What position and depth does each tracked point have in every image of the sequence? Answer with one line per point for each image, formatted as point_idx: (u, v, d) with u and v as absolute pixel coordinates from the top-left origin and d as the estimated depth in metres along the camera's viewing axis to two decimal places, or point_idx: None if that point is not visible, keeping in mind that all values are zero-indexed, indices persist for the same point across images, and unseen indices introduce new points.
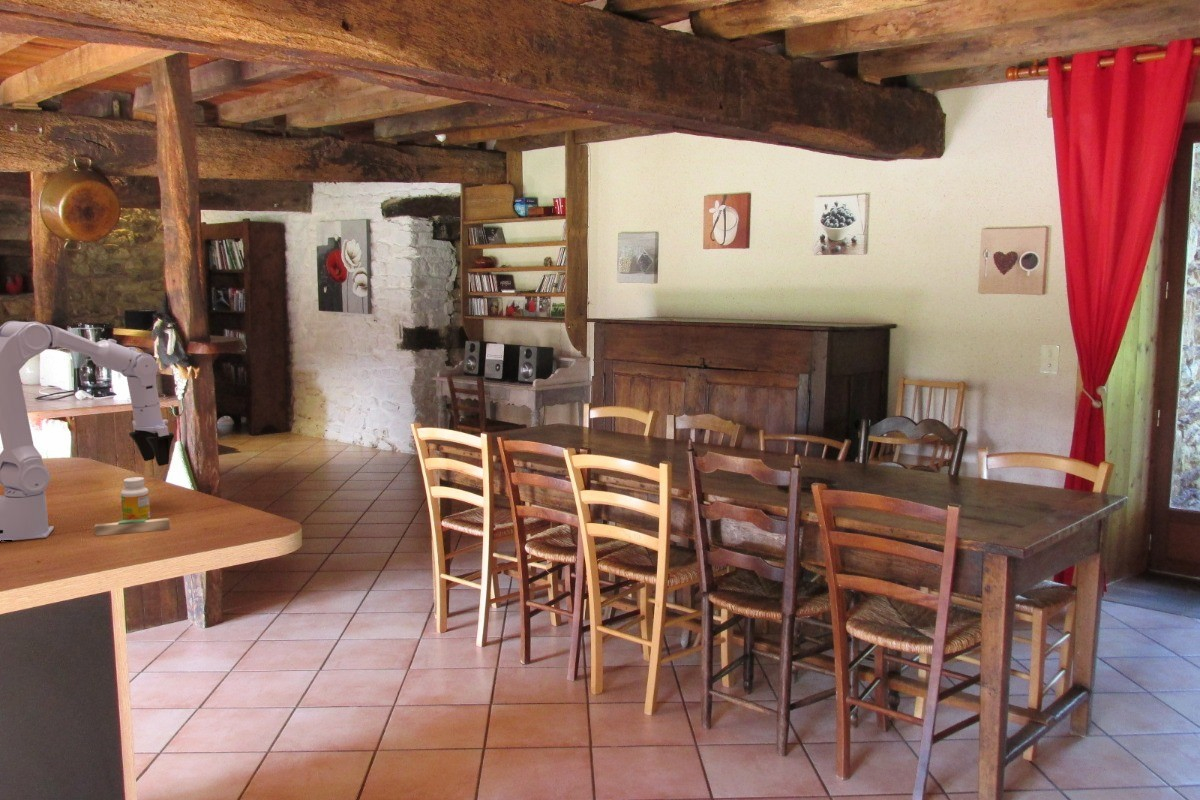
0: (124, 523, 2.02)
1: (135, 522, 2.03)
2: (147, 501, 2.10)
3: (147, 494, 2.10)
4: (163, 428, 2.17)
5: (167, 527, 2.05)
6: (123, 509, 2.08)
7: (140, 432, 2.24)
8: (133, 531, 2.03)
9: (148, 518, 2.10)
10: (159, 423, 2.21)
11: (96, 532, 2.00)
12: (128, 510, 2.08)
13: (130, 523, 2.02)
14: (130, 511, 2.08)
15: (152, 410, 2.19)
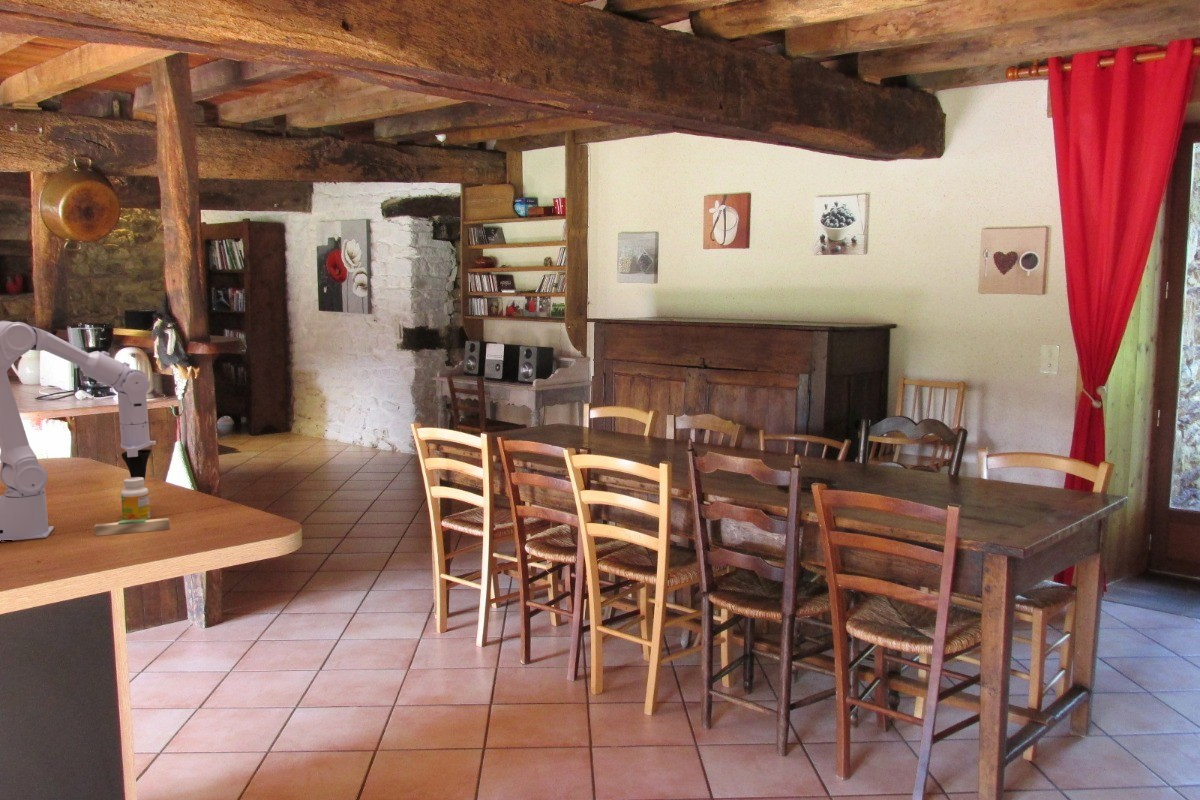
0: (124, 523, 2.02)
1: (135, 522, 2.03)
2: (147, 501, 2.10)
3: (147, 494, 2.10)
4: (132, 449, 2.09)
5: (167, 527, 2.05)
6: (123, 509, 2.08)
7: None
8: (133, 531, 2.03)
9: (148, 518, 2.10)
10: (140, 443, 2.13)
11: (96, 532, 2.00)
12: (128, 510, 2.08)
13: (130, 523, 2.02)
14: (130, 511, 2.08)
15: (133, 429, 2.12)
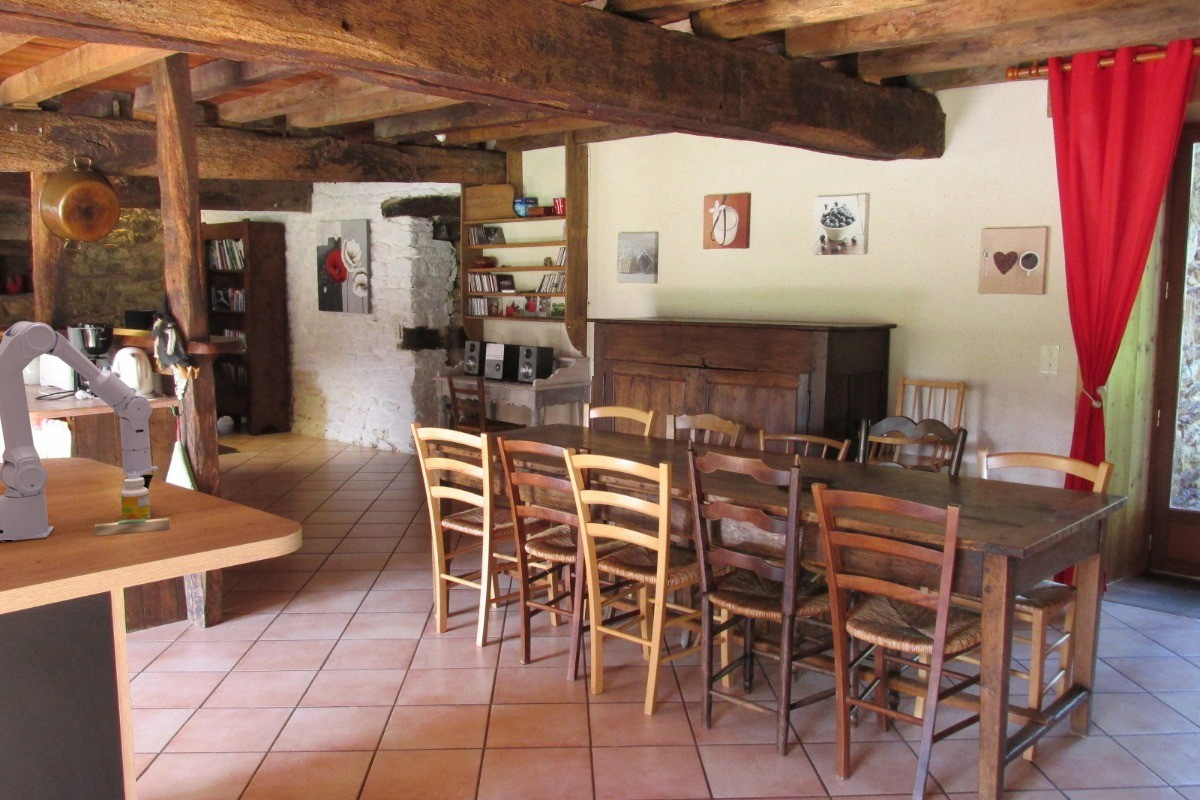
0: (124, 523, 2.02)
1: (135, 522, 2.03)
2: (147, 501, 2.10)
3: (147, 494, 2.10)
4: (133, 475, 2.10)
5: (167, 527, 2.05)
6: (123, 509, 2.08)
7: None
8: (133, 531, 2.03)
9: (148, 518, 2.10)
10: (142, 469, 2.14)
11: (96, 532, 2.00)
12: (128, 510, 2.08)
13: (130, 523, 2.02)
14: (130, 511, 2.08)
15: (135, 455, 2.13)
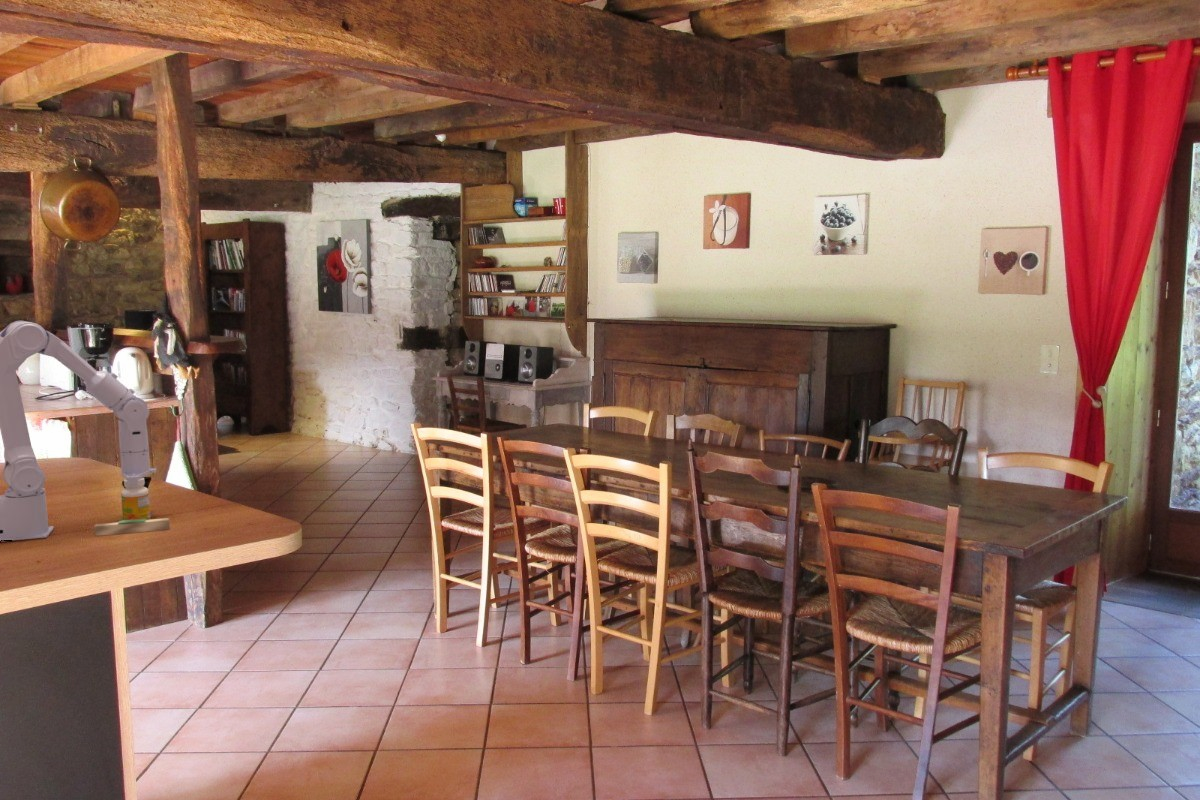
0: (124, 523, 2.02)
1: (135, 522, 2.03)
2: (147, 501, 2.10)
3: (147, 494, 2.10)
4: (132, 478, 2.07)
5: (167, 527, 2.05)
6: (123, 509, 2.08)
7: None
8: (133, 531, 2.03)
9: (148, 518, 2.10)
10: (140, 471, 2.11)
11: (96, 532, 2.00)
12: (128, 510, 2.08)
13: (130, 523, 2.02)
14: (130, 511, 2.08)
15: (133, 457, 2.10)
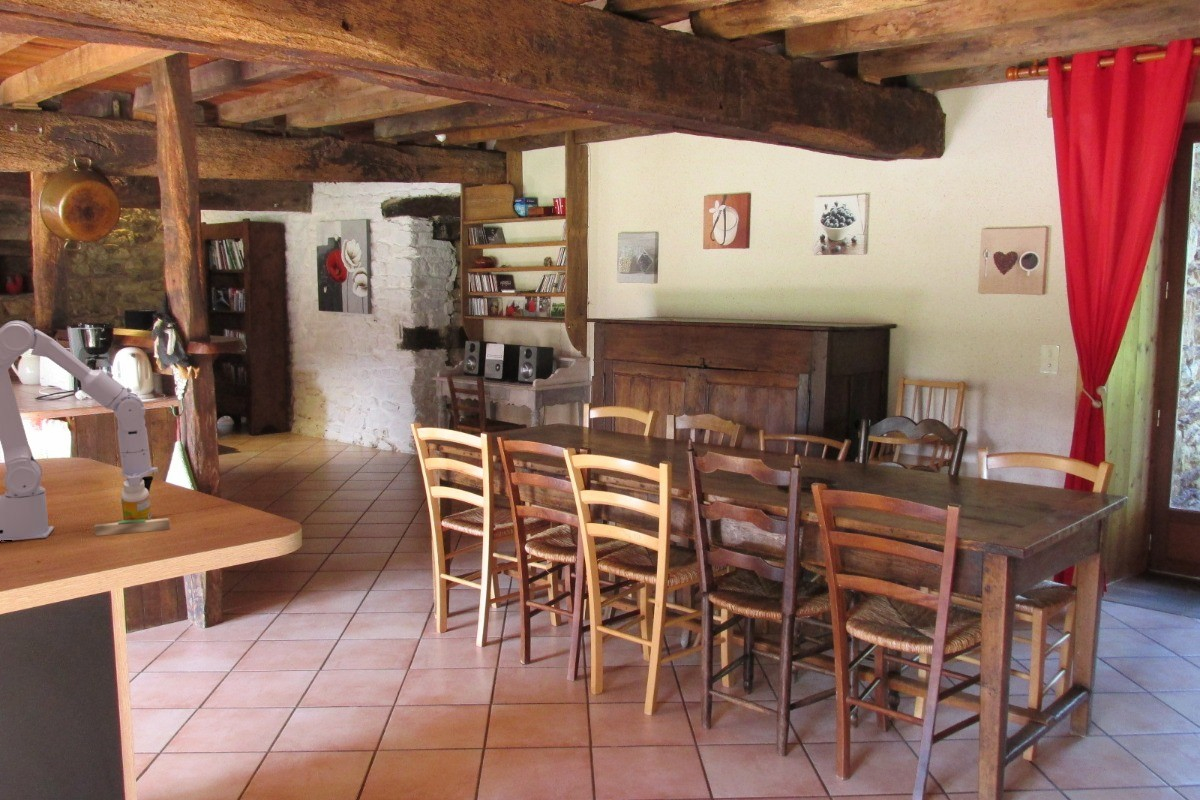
0: (124, 523, 2.02)
1: (135, 522, 2.03)
2: (147, 504, 2.07)
3: (147, 497, 2.06)
4: (133, 478, 2.03)
5: (167, 527, 2.05)
6: (123, 510, 2.06)
7: None
8: (133, 531, 2.03)
9: (148, 519, 2.08)
10: (141, 471, 2.08)
11: (96, 532, 2.00)
12: (127, 513, 2.05)
13: (130, 523, 2.02)
14: (129, 514, 2.05)
15: (134, 457, 2.07)
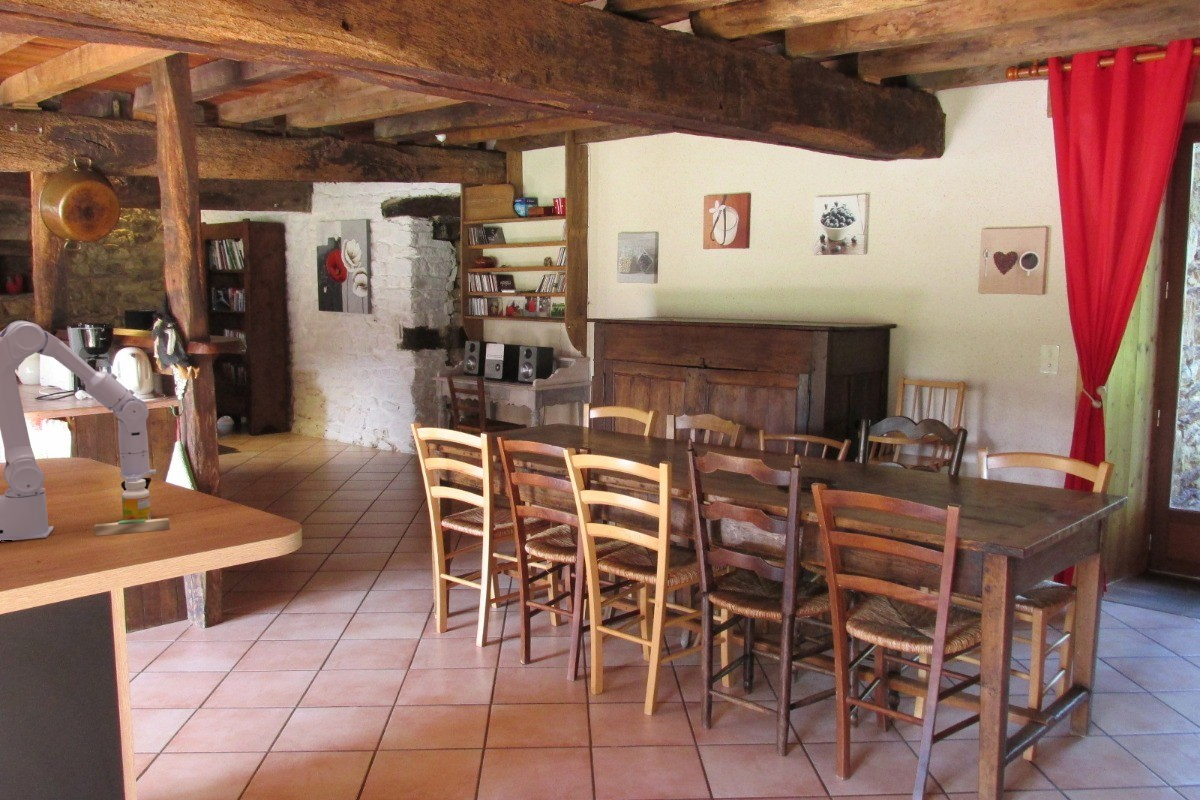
0: (124, 523, 2.02)
1: (135, 522, 2.03)
2: (147, 503, 2.08)
3: (148, 496, 2.08)
4: (131, 479, 2.06)
5: (167, 527, 2.05)
6: (123, 510, 2.06)
7: None
8: (133, 531, 2.03)
9: None
10: (140, 473, 2.11)
11: (96, 532, 2.00)
12: (127, 512, 2.06)
13: (130, 523, 2.02)
14: (129, 513, 2.06)
15: (133, 458, 2.10)
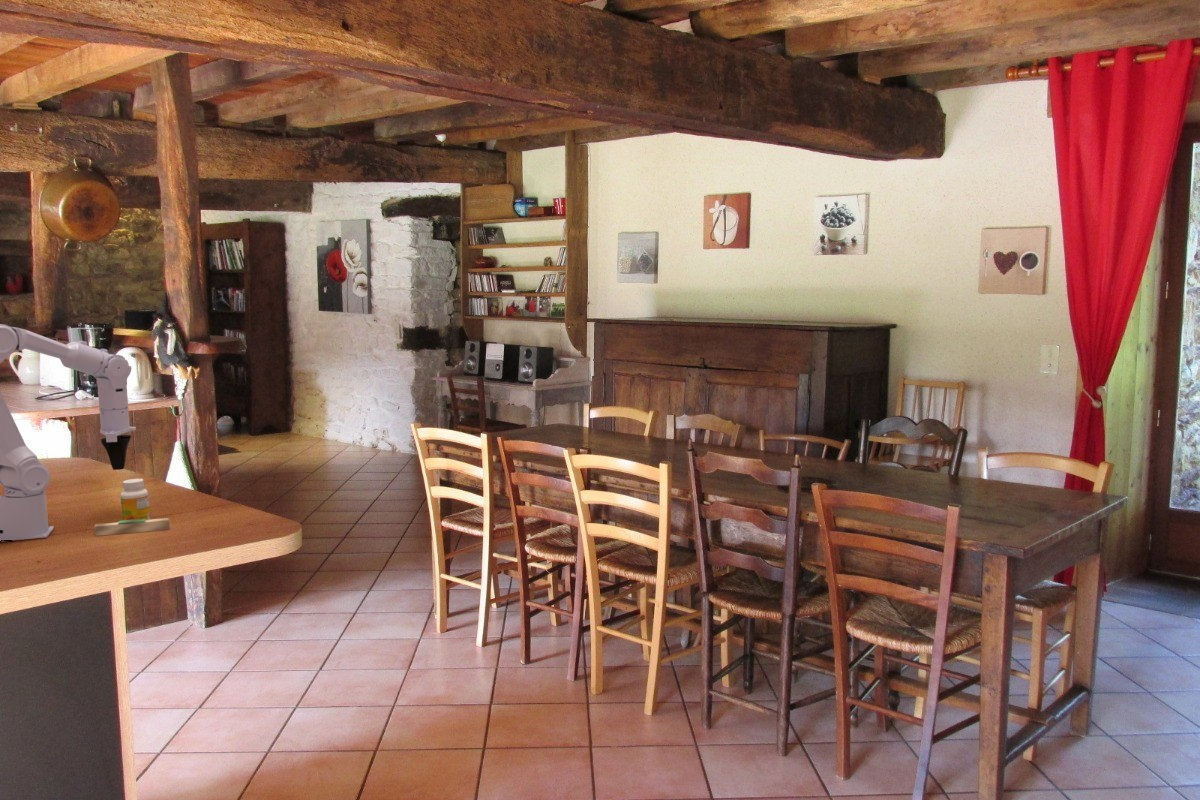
0: (124, 523, 2.02)
1: (135, 522, 2.03)
2: (146, 503, 2.08)
3: (146, 496, 2.08)
4: (111, 434, 2.08)
5: (167, 527, 2.05)
6: (122, 511, 2.06)
7: None
8: (133, 531, 2.03)
9: None
10: (119, 429, 2.13)
11: (96, 532, 2.00)
12: (127, 512, 2.06)
13: (130, 523, 2.02)
14: (129, 513, 2.06)
15: (113, 414, 2.12)
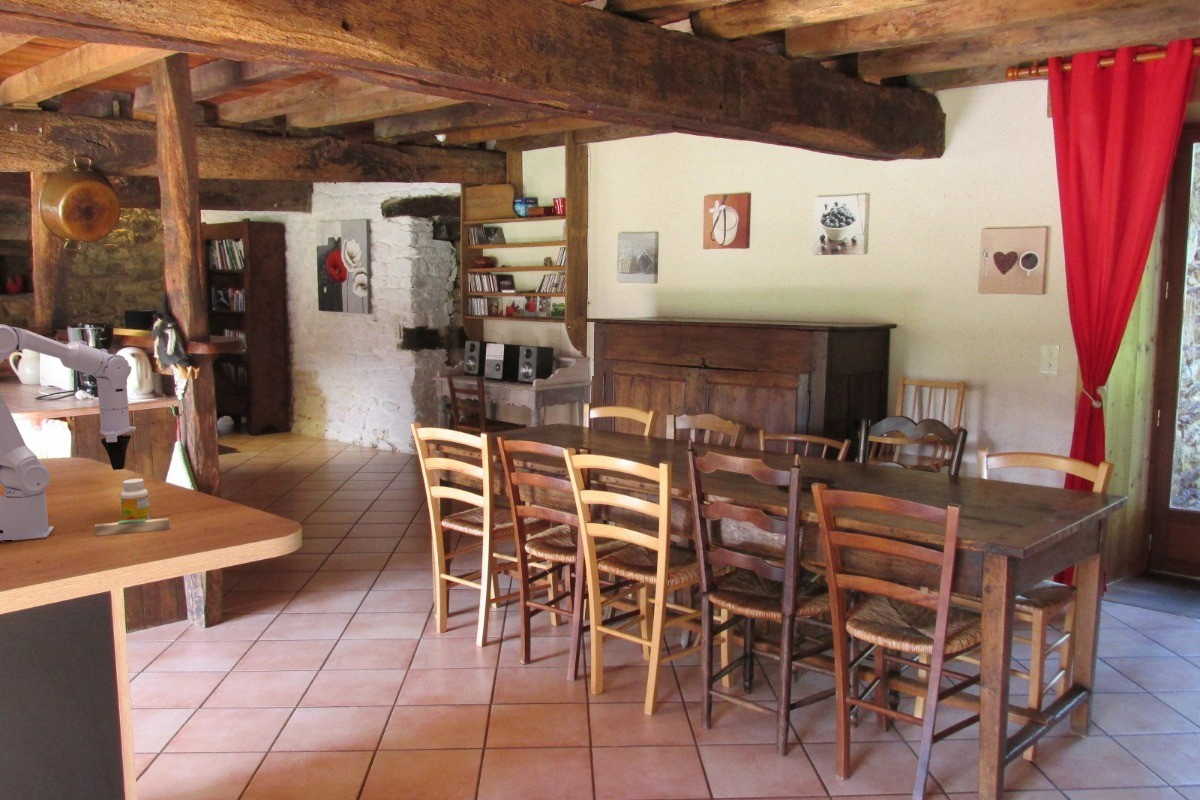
0: (124, 523, 2.02)
1: (135, 522, 2.03)
2: (147, 503, 2.08)
3: (146, 496, 2.08)
4: (111, 434, 2.08)
5: (167, 527, 2.05)
6: (123, 511, 2.06)
7: None
8: (133, 531, 2.03)
9: None
10: (119, 429, 2.13)
11: (96, 532, 2.00)
12: (127, 512, 2.06)
13: (130, 523, 2.02)
14: (129, 513, 2.06)
15: (113, 414, 2.12)
